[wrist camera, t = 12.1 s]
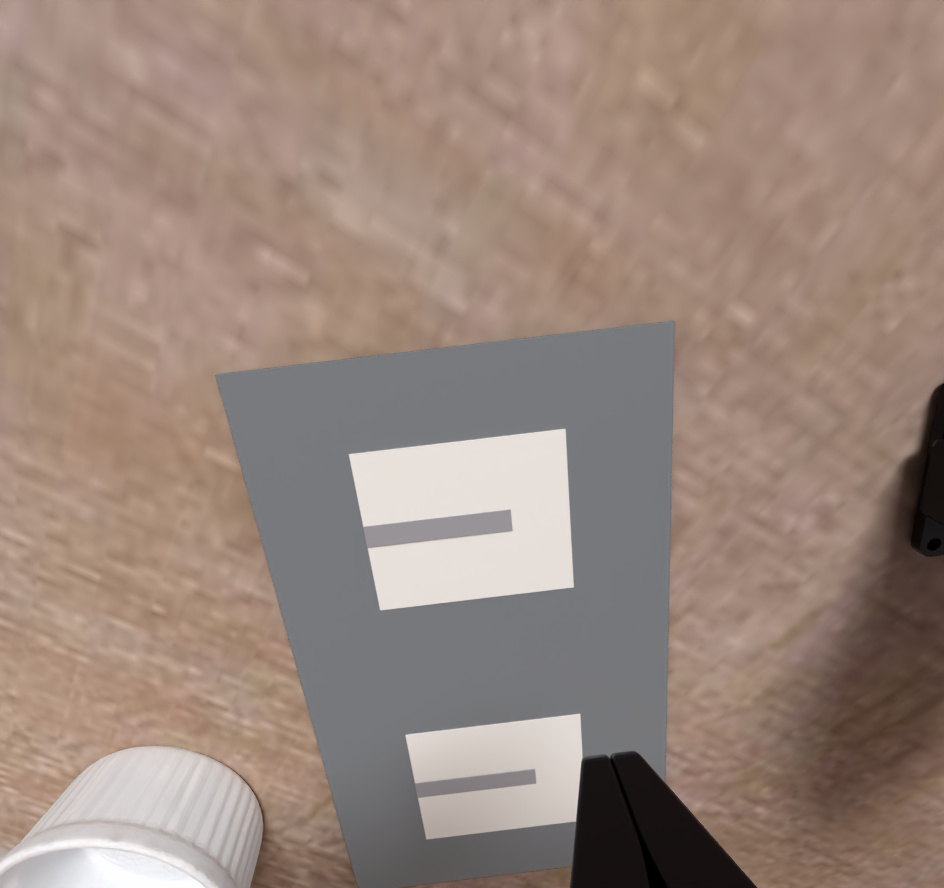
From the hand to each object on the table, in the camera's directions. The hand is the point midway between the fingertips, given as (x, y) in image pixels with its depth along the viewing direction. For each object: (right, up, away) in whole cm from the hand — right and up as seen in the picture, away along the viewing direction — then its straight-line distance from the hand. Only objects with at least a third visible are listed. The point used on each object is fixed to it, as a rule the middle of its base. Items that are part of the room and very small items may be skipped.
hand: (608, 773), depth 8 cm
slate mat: (-2, -3, +12) cm, 13 cm away
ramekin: (-15, -10, +14) cm, 23 cm away
